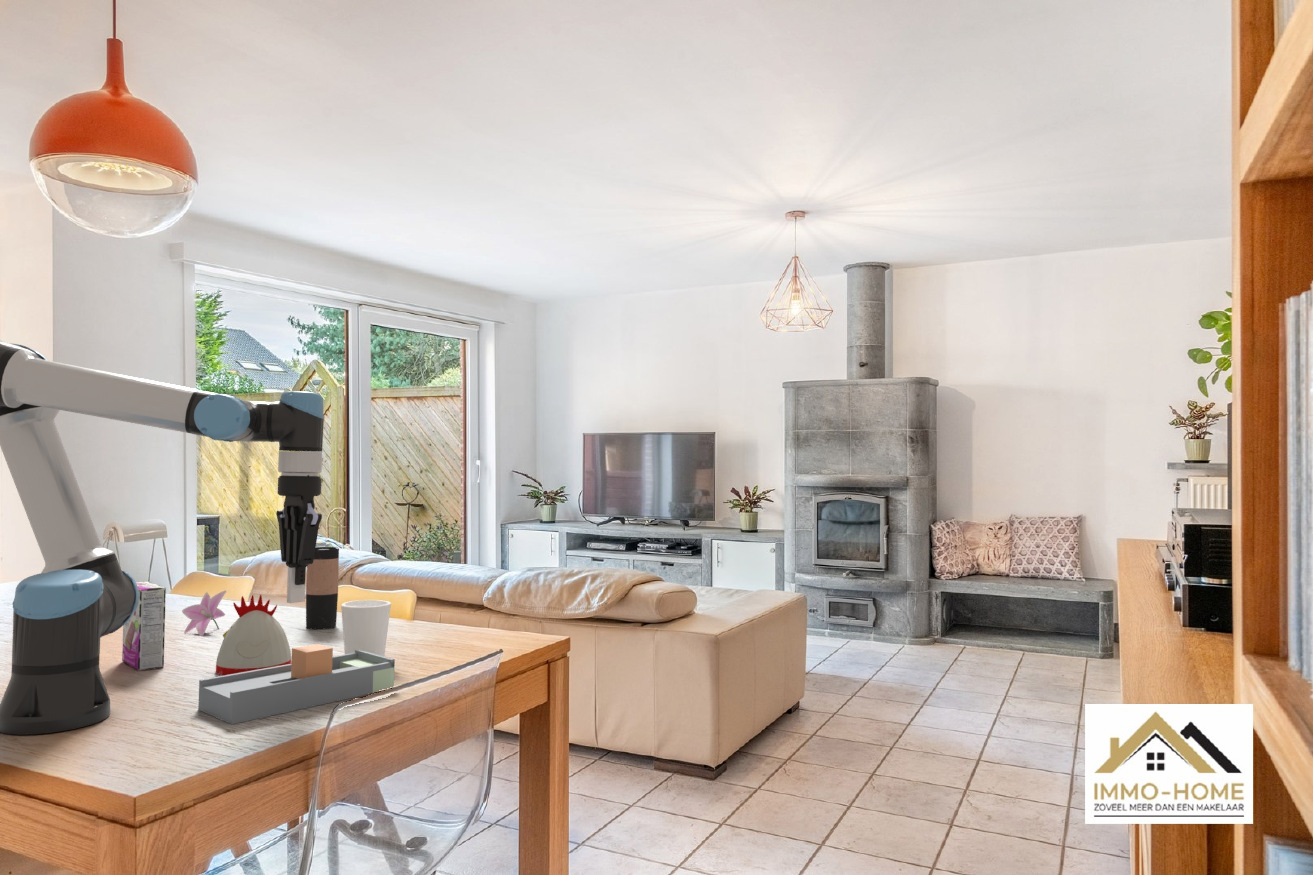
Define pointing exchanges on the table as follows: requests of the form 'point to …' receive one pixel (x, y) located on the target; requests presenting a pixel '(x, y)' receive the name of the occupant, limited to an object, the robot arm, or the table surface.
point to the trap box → (293, 687)
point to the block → (311, 661)
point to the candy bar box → (146, 629)
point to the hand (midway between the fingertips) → (295, 601)
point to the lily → (204, 613)
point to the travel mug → (322, 589)
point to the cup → (365, 625)
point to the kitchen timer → (253, 641)
